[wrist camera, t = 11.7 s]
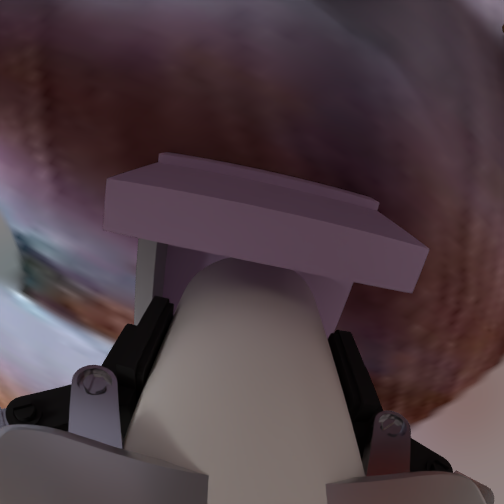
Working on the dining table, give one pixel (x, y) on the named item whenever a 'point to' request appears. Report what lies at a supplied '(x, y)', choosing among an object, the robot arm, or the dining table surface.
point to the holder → (255, 230)
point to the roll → (248, 390)
